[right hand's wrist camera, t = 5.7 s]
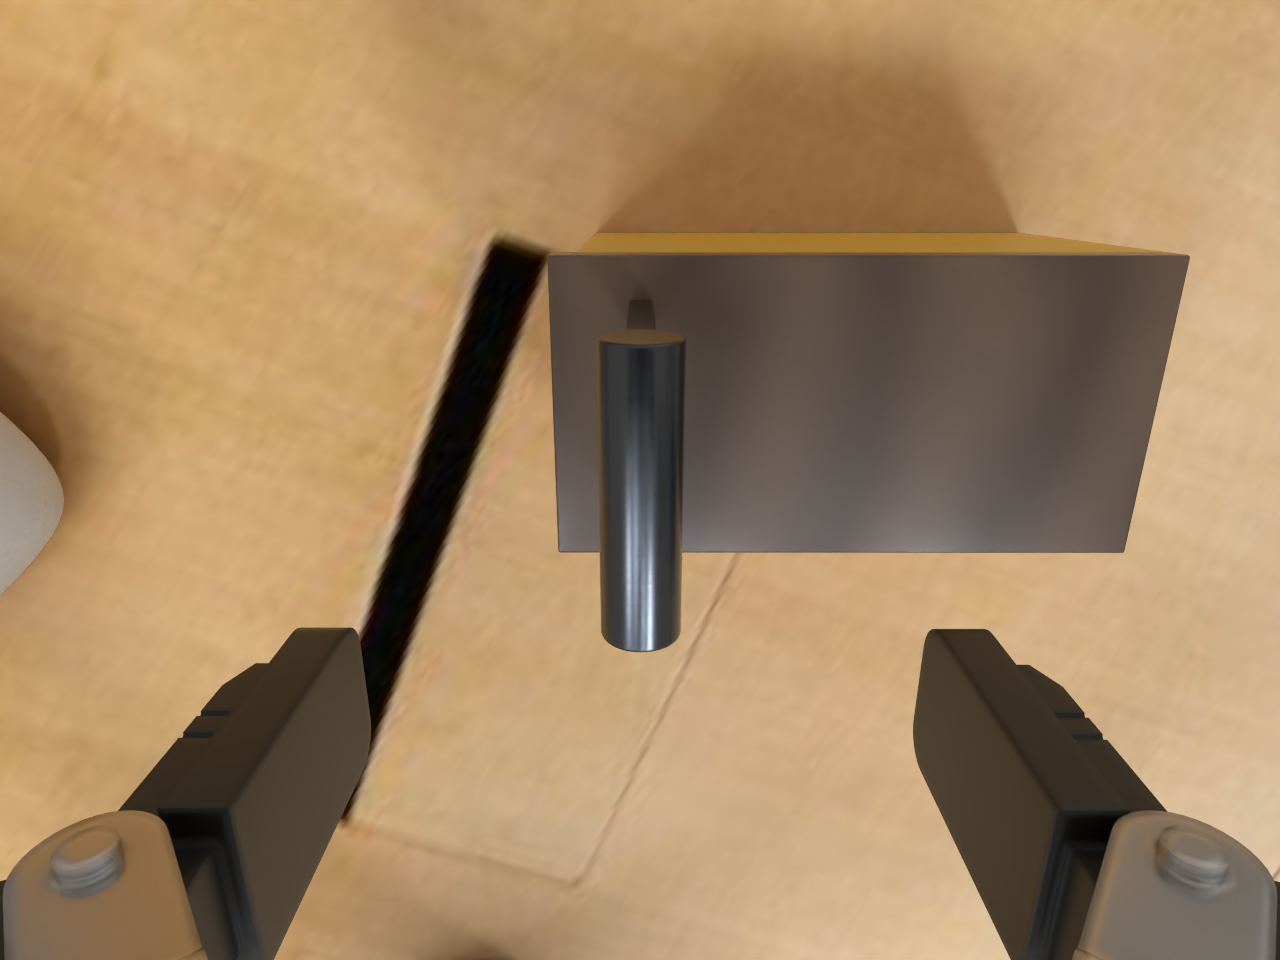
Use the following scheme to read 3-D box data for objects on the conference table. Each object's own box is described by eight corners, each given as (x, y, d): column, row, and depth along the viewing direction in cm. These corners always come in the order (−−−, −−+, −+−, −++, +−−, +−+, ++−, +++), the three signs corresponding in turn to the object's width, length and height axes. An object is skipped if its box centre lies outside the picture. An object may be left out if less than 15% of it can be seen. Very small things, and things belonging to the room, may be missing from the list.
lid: (561, 538, 27) (526, 694, 19) (551, 252, 24) (503, 288, 16) (1105, 538, 27) (1308, 694, 19) (1166, 252, 24) (1443, 288, 16)
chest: (598, 447, 37) (584, 537, 27) (594, 232, 34) (577, 251, 24) (986, 447, 37) (1104, 538, 27) (1019, 232, 34) (1165, 251, 24)
